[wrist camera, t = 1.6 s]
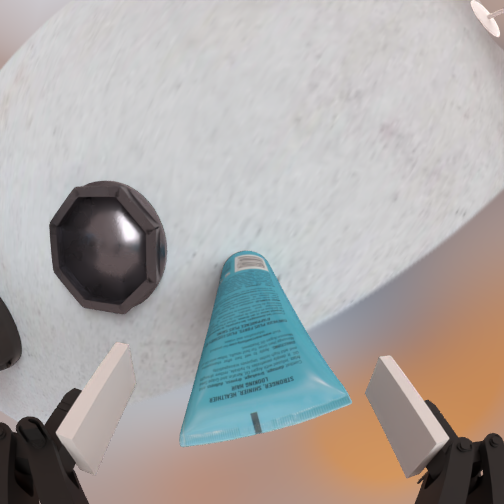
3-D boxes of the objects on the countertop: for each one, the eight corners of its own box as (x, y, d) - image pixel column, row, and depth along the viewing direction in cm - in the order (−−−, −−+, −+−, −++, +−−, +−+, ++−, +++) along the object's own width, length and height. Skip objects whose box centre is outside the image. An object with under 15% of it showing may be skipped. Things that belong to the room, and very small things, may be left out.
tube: (225, 307, 28) (210, 471, 10) (203, 268, 27) (146, 416, 9) (290, 277, 28) (361, 425, 9) (271, 235, 27) (332, 353, 8)
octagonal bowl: (65, 298, 28) (56, 305, 25) (57, 182, 24) (45, 183, 22) (168, 314, 28) (163, 323, 26) (169, 181, 25) (163, 181, 23)
